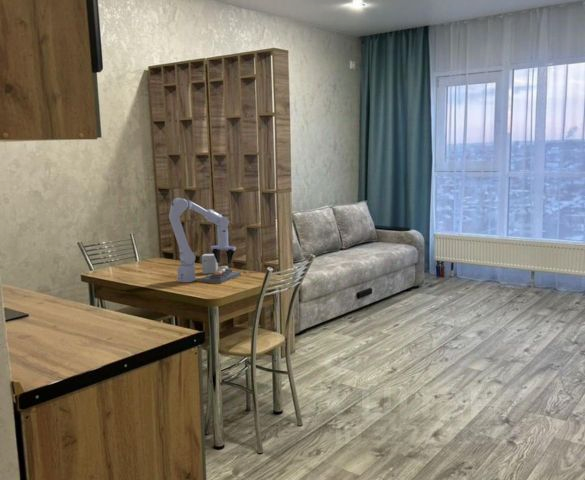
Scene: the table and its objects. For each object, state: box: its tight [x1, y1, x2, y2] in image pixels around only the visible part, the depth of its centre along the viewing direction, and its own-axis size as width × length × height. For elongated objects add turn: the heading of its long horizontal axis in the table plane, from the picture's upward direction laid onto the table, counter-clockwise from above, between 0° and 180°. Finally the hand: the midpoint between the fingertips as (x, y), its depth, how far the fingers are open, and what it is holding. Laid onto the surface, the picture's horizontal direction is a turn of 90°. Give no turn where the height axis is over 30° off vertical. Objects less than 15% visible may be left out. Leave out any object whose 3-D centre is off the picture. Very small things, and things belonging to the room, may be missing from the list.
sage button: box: [219, 265, 229, 271], centre depth 313 cm, size 4×4×2 cm
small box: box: [201, 253, 219, 275], centre depth 324 cm, size 8×6×10 cm
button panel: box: [200, 268, 242, 284], centre depth 307 cm, size 21×12×3 cm, turn 156°
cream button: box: [217, 267, 225, 273], centre depth 306 cm, size 4×4×2 cm
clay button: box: [214, 271, 222, 276], centre depth 300 cm, size 4×4×2 cm
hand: (223, 262), depth 313 cm, fingers open, 6 cm apart
